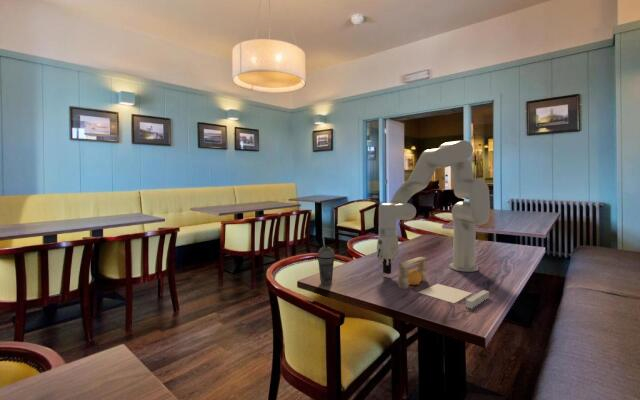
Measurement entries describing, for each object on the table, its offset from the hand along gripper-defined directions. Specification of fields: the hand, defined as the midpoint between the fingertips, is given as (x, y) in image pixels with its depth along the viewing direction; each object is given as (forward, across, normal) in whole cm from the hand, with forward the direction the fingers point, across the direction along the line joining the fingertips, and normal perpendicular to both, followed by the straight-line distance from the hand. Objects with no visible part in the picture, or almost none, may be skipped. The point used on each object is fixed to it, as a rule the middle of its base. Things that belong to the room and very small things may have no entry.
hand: (387, 273), depth 144 cm
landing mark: (+2, 0, -27) cm, 27 cm away
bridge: (+2, 0, -13) cm, 13 cm away
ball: (-2, 0, -14) cm, 14 cm away
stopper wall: (+2, 0, -39) cm, 39 cm away
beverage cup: (+2, -26, +11) cm, 28 cm away
